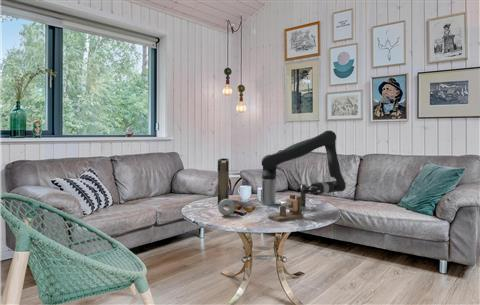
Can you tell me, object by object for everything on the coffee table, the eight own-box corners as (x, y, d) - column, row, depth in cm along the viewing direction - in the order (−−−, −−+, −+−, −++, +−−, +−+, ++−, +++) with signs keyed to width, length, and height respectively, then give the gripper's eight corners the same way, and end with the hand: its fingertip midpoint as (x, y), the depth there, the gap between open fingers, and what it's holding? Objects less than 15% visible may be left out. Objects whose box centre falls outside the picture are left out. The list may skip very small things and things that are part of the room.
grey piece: (279, 209, 204) (280, 186, 203) (302, 205, 215) (303, 184, 214) (283, 210, 202) (283, 187, 201) (306, 206, 212) (307, 184, 212)
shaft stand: (268, 218, 203) (268, 197, 203) (292, 214, 214) (292, 194, 214) (278, 221, 196) (279, 200, 195) (303, 217, 207) (303, 196, 206)
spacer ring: (286, 208, 210) (286, 198, 209) (288, 208, 211) (289, 198, 211) (294, 210, 204) (295, 200, 204) (297, 210, 205) (297, 200, 205)
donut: (218, 216, 207) (218, 199, 206) (217, 215, 210) (217, 198, 209) (235, 216, 208) (235, 199, 207) (234, 214, 211) (234, 198, 211)
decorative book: (228, 205, 237) (228, 160, 235) (217, 205, 237) (217, 160, 235) (229, 198, 260) (229, 157, 258) (219, 198, 260) (219, 157, 258)
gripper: (311, 180, 226) (291, 183, 216) (329, 183, 214) (308, 186, 205) (311, 192, 227) (291, 195, 217) (328, 196, 215) (308, 199, 205)
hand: (300, 190), depth 211 cm, fingers open, 4 cm apart
